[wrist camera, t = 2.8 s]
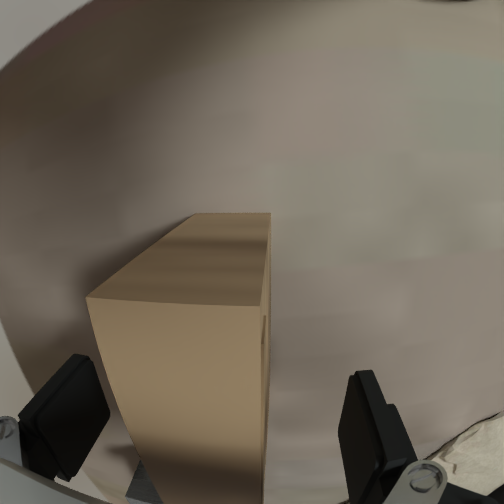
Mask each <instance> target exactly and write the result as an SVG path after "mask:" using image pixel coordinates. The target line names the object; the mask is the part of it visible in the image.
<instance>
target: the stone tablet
mask: <svg viewBox="0 0 504 504" xmlns="http://www.w3.org/2000/svg"><path fill="white" fill-rule="evenodd" d="M426 460H431V461H435V462H437V463H439V464H440V465H441V466H442V467H443V468H444V469H445V471H446V472H447V477H448V480H447V482H449V483H452V484H454V485H457V486H459V487H462V488H465V489H468V490H470V491H473V492H476V493H479V494H482V495H485V496H487V495H489V494H490V493H491V492H493V491H494V490H495V489H497V488H498V487H500V486H501V485H503V484H504V411H502V412H500V413H499V414H498V415H496V416H495V417H493V418H491V419H488V420H485V421H481V422H478V423H476V424H475V425H473V426H472V427H471V428H469V429H468V430H467V431H465V432H463V433H462V434H461V435H459V436H458V437H457V438H455V439H454V440H452V441H451V442H449V443H447V444H445V445H444V446H443V447H442V448H441V449H440V450H439V451H438V452H437V453H435V454H434V455H432V456H430V457H428V458H427V459H426ZM346 504H350V502H348V503H346Z"/></svg>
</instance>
